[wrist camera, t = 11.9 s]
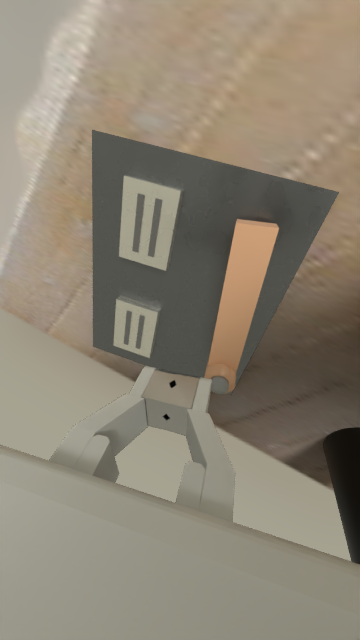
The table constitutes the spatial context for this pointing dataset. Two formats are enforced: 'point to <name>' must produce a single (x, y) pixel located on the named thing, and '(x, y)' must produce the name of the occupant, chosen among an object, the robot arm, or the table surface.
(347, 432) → the water bottle
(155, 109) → the table surface
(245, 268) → the swing bar
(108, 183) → the label panel
